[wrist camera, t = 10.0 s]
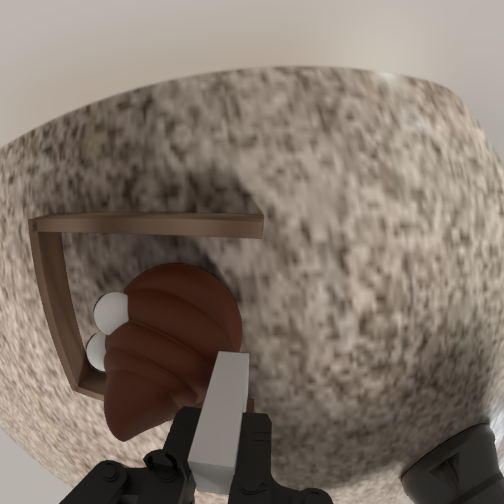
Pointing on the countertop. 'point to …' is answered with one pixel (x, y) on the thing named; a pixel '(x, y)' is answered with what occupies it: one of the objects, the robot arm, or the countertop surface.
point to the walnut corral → (161, 223)
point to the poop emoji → (161, 344)
